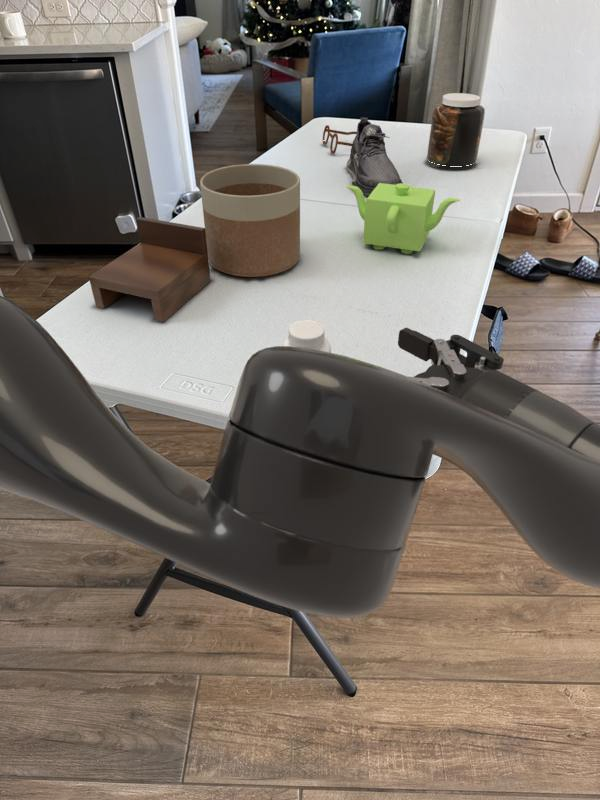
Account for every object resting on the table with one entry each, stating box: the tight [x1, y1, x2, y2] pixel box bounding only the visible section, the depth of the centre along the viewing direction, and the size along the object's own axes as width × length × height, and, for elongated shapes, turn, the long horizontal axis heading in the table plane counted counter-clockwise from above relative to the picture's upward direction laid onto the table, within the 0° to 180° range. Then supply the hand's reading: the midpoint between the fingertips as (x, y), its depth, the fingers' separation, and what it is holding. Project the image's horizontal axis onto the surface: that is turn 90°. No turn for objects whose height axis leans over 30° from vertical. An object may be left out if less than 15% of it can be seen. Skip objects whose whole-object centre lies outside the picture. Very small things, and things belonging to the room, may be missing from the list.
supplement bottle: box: [281, 319, 332, 353], centre depth 66 cm, size 6×6×10 cm
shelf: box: [88, 216, 212, 323], centre depth 88 cm, size 14×12×9 cm
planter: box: [199, 163, 301, 278], centre depth 96 cm, size 16×16×14 cm
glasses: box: [322, 124, 357, 155], centre depth 152 cm, size 13×13×5 cm
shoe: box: [346, 117, 404, 196], centre depth 128 cm, size 10×27×12 cm, turn 7°
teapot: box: [345, 182, 461, 255], centre depth 102 cm, size 15×13×11 cm
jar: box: [426, 92, 486, 171], centre depth 138 cm, size 12×12×15 cm
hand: (372, 352), depth 57 cm, fingers open, 8 cm apart
